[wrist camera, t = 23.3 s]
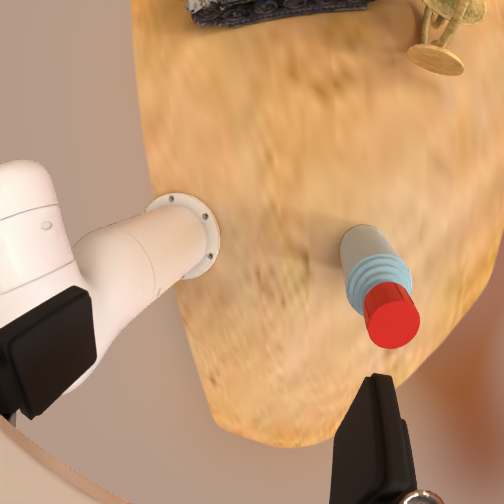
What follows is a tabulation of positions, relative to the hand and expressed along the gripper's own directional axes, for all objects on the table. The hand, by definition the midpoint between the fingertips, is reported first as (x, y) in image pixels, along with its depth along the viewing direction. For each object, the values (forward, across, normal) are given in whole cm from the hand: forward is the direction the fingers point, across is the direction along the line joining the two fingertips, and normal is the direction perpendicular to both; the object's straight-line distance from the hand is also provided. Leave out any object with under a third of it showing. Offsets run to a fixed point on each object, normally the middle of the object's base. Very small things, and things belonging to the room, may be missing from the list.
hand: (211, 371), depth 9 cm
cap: (+16, -10, +3) cm, 19 cm away
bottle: (+32, -10, +3) cm, 34 cm away
